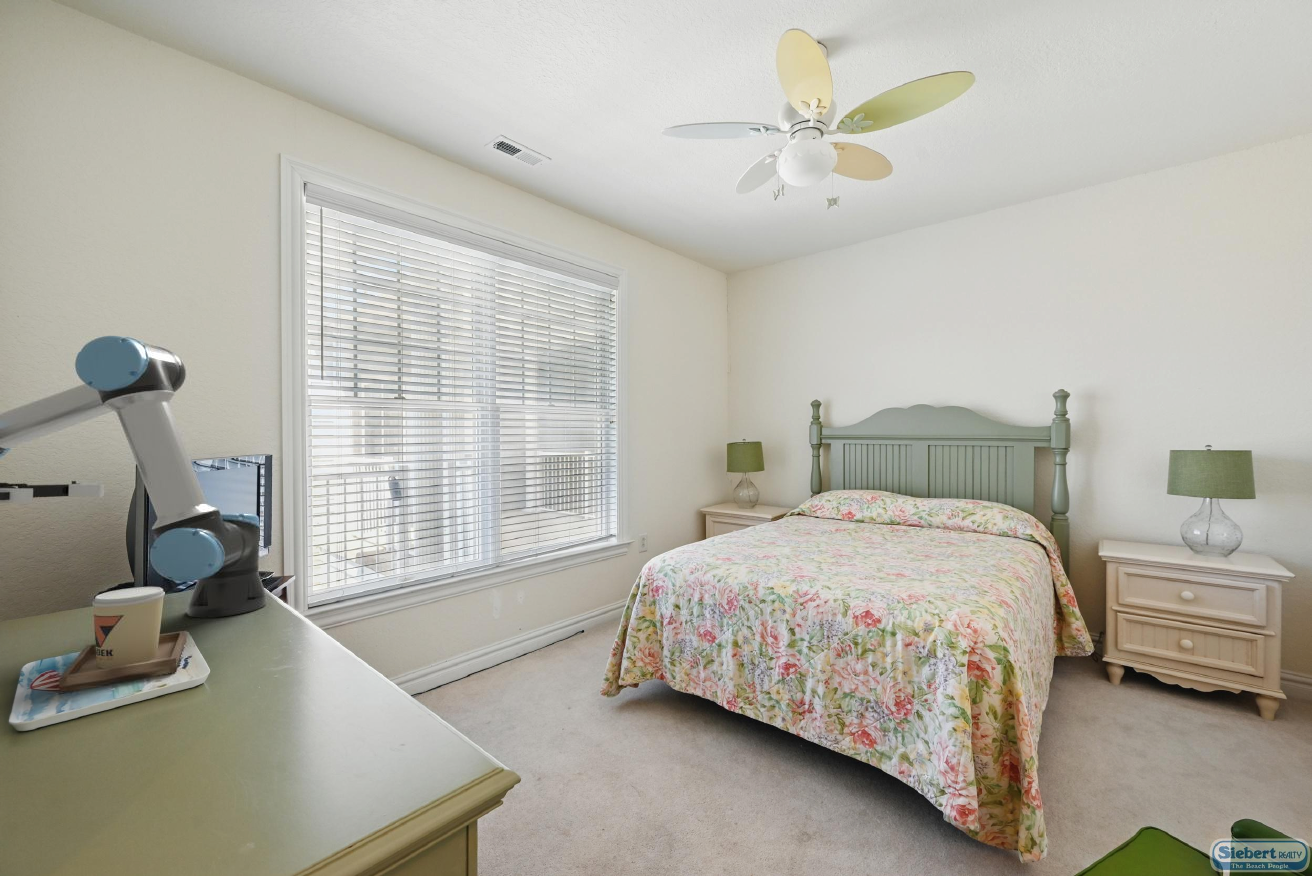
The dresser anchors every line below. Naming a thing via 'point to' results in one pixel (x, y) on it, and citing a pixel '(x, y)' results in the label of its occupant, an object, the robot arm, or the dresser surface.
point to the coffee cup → (127, 625)
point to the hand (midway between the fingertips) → (68, 493)
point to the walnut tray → (90, 675)
